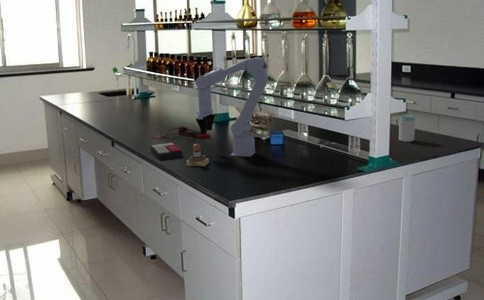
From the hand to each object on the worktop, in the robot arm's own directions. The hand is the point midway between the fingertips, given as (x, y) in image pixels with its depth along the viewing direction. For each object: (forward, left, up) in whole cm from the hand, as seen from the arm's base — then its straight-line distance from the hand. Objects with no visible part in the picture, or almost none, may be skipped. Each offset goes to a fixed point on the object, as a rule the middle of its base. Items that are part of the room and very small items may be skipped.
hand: (206, 132), depth 254 cm
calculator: (+18, +5, -10) cm, 22 cm away
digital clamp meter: (+25, -29, -11) cm, 40 cm away
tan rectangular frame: (-2, +19, -10) cm, 21 cm away
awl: (-2, +19, -8) cm, 20 cm away
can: (-87, -35, -10) cm, 94 cm away
